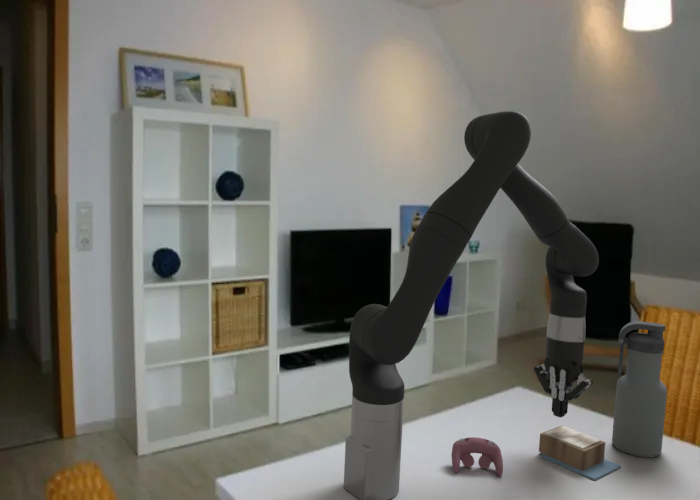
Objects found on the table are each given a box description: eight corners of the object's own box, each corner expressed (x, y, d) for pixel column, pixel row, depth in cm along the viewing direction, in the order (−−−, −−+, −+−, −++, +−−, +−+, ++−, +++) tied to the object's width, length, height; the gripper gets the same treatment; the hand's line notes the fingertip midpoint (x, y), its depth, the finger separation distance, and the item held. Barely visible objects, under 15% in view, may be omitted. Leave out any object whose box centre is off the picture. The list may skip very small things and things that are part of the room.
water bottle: (608, 451, 124) (619, 324, 121) (610, 435, 132) (621, 316, 130) (661, 462, 119) (674, 331, 116) (660, 445, 127) (672, 322, 125)
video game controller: (500, 476, 113) (499, 439, 115) (504, 476, 109) (504, 438, 111) (450, 472, 114) (450, 436, 116) (452, 472, 110) (453, 434, 112)
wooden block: (538, 451, 121) (582, 470, 113) (540, 432, 120) (584, 450, 112) (560, 443, 125) (603, 460, 118) (561, 424, 125) (605, 440, 117)
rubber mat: (594, 480, 110) (594, 478, 110) (540, 456, 119) (540, 454, 119) (620, 467, 116) (621, 465, 116) (567, 445, 125) (567, 444, 125)
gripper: (527, 331, 122) (522, 409, 124) (585, 345, 112) (578, 430, 114) (548, 327, 127) (542, 402, 129) (605, 340, 117) (598, 422, 118)
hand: (559, 415), depth 121 cm, fingers closed
